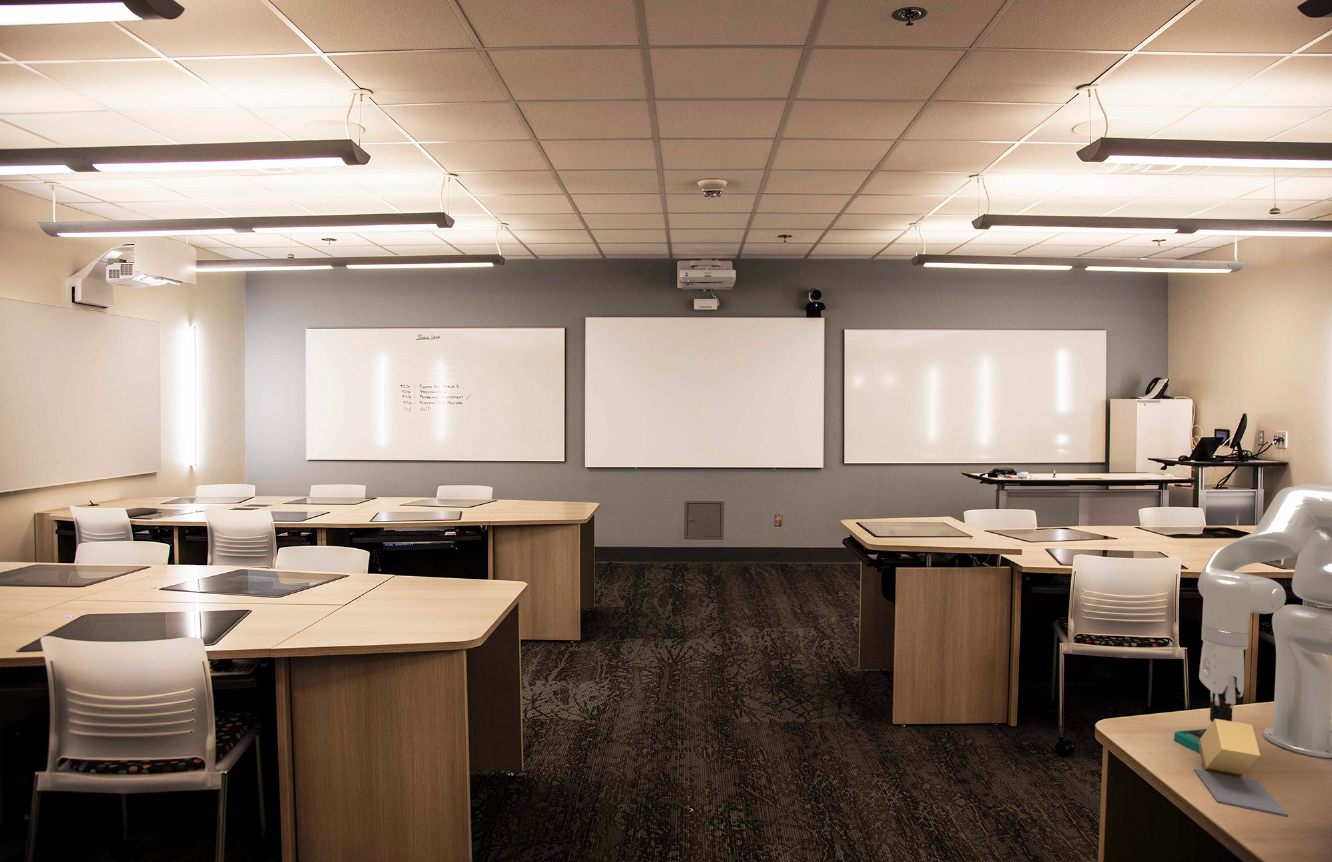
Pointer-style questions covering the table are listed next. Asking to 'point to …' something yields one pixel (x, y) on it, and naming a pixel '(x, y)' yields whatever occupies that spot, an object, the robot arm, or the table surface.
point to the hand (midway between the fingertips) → (1220, 723)
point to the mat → (1240, 792)
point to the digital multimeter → (1189, 738)
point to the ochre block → (1228, 747)
